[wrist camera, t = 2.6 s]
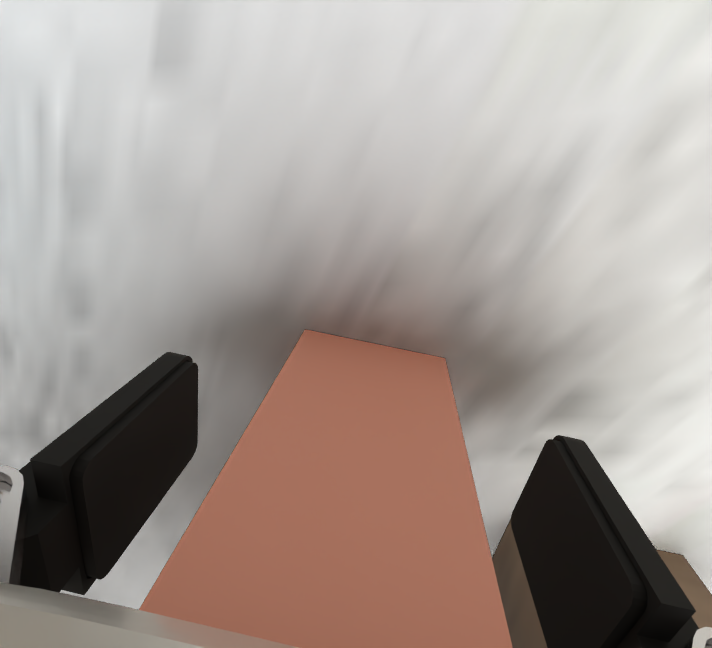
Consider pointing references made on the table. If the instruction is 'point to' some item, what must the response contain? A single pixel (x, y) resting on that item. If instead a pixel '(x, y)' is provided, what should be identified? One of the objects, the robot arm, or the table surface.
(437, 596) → the red tile
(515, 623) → the tile
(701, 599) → the tile
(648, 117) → the table surface
